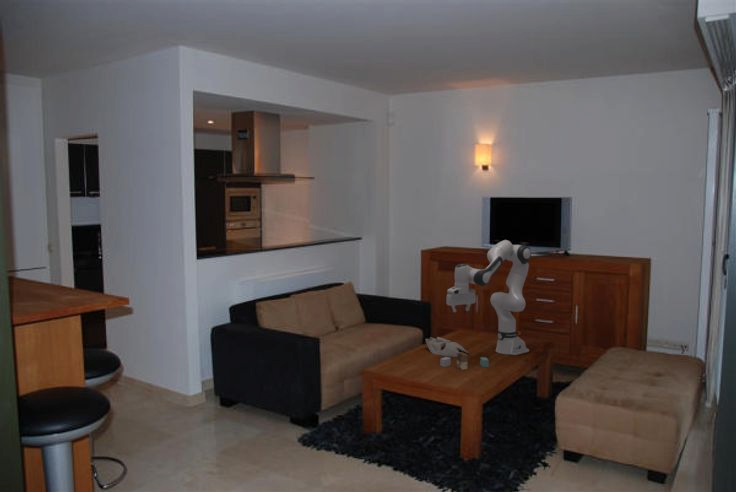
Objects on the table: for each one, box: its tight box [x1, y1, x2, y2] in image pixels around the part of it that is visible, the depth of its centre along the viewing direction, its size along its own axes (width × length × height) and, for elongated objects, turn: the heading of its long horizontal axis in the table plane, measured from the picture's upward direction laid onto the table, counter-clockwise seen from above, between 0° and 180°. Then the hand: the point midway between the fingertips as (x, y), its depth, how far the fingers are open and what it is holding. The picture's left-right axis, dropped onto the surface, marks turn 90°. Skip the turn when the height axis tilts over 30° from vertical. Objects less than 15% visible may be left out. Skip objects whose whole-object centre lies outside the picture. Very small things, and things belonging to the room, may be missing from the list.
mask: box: [425, 336, 469, 358], centre depth 407 cm, size 20×9×30 cm
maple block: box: [456, 359, 468, 371], centre depth 371 cm, size 6×4×4 cm, turn 26°
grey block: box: [439, 356, 452, 368], centre depth 376 cm, size 6×4×4 cm, turn 136°
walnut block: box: [456, 351, 469, 363], centre depth 370 cm, size 6×4×4 cm, turn 26°
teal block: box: [479, 356, 490, 368], centre depth 376 cm, size 6×4×4 cm, turn 6°
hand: (461, 311), depth 385 cm, fingers open, 8 cm apart
